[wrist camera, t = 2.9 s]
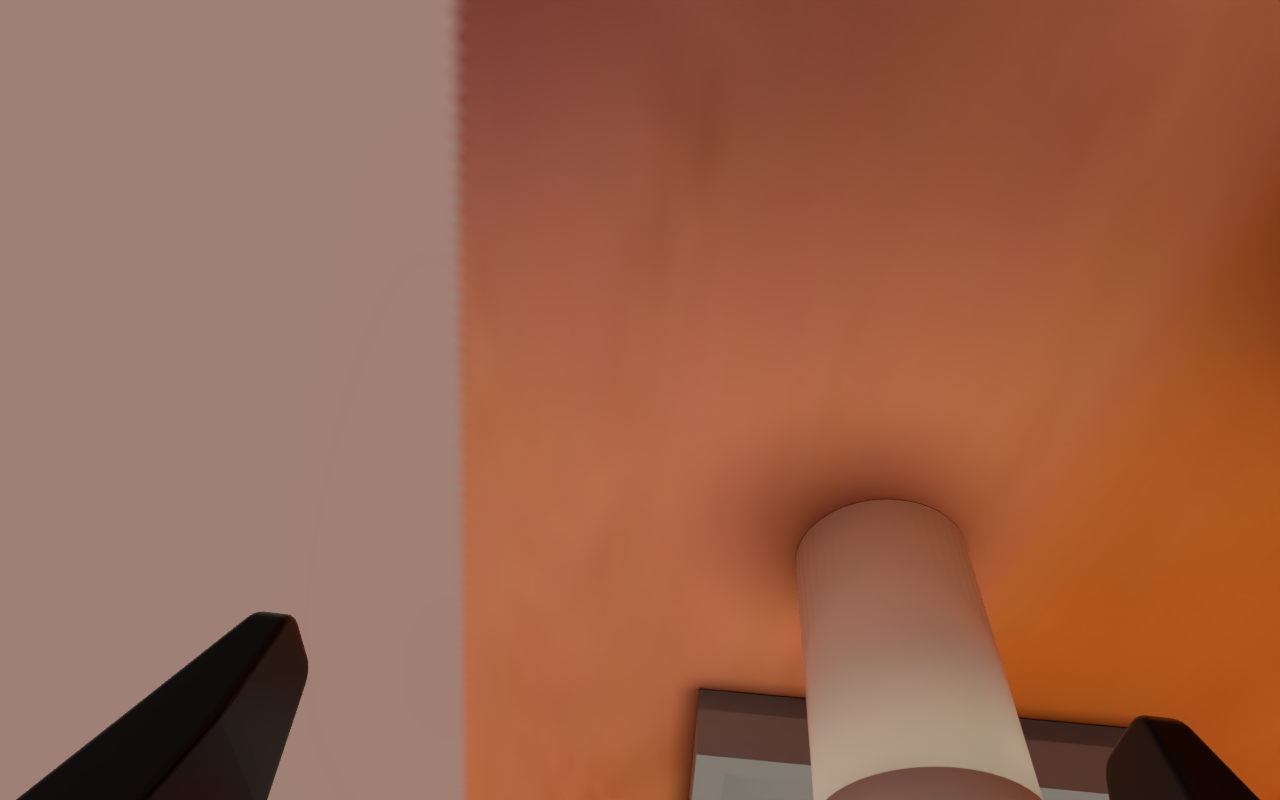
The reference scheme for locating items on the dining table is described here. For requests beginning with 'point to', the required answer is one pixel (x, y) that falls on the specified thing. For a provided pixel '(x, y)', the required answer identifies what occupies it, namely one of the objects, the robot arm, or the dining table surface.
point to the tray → (781, 766)
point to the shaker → (903, 663)
